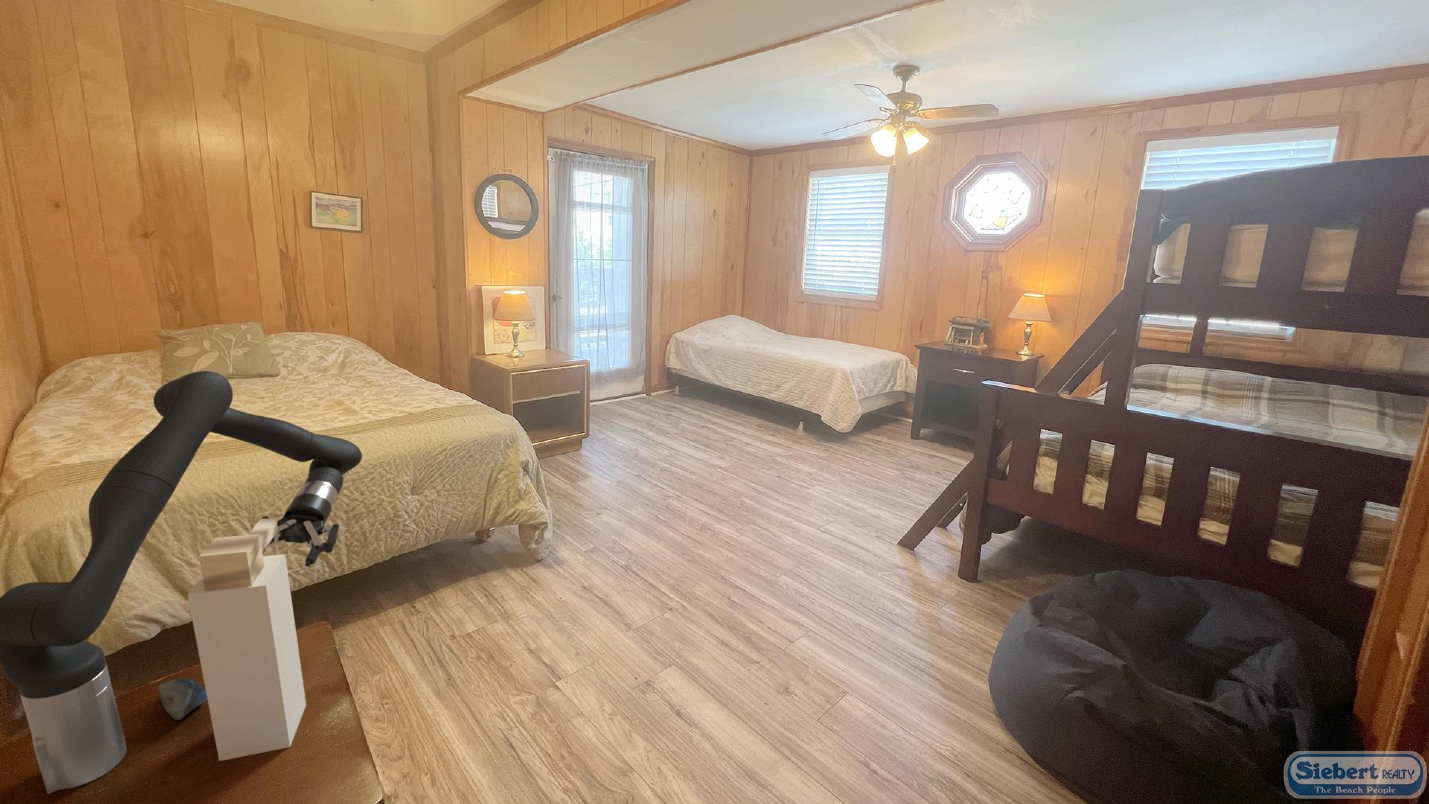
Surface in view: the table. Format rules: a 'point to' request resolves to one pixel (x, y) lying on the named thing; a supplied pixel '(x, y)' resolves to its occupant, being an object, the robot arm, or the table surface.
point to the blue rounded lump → (181, 696)
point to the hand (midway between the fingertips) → (281, 561)
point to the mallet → (236, 557)
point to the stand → (250, 661)
